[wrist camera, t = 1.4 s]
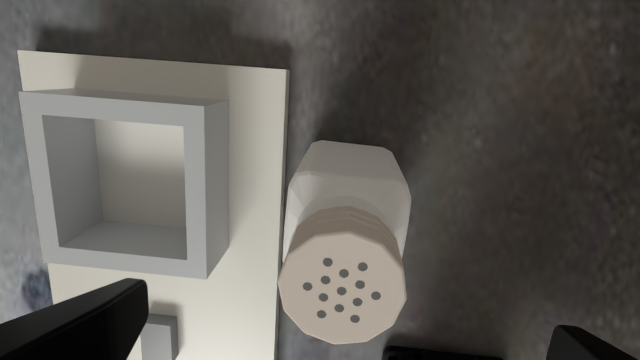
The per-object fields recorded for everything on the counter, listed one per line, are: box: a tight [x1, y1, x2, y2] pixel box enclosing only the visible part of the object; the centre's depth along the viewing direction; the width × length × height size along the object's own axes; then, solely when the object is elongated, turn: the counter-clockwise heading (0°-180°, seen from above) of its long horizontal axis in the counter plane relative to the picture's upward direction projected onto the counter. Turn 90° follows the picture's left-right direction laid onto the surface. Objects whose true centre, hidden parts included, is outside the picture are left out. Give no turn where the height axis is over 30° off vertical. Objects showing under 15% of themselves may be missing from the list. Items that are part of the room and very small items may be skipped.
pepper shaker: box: [277, 140, 412, 344], centre depth 14 cm, size 4×4×10 cm
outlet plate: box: [17, 50, 290, 360], centre depth 18 cm, size 18×12×4 cm, turn 176°
